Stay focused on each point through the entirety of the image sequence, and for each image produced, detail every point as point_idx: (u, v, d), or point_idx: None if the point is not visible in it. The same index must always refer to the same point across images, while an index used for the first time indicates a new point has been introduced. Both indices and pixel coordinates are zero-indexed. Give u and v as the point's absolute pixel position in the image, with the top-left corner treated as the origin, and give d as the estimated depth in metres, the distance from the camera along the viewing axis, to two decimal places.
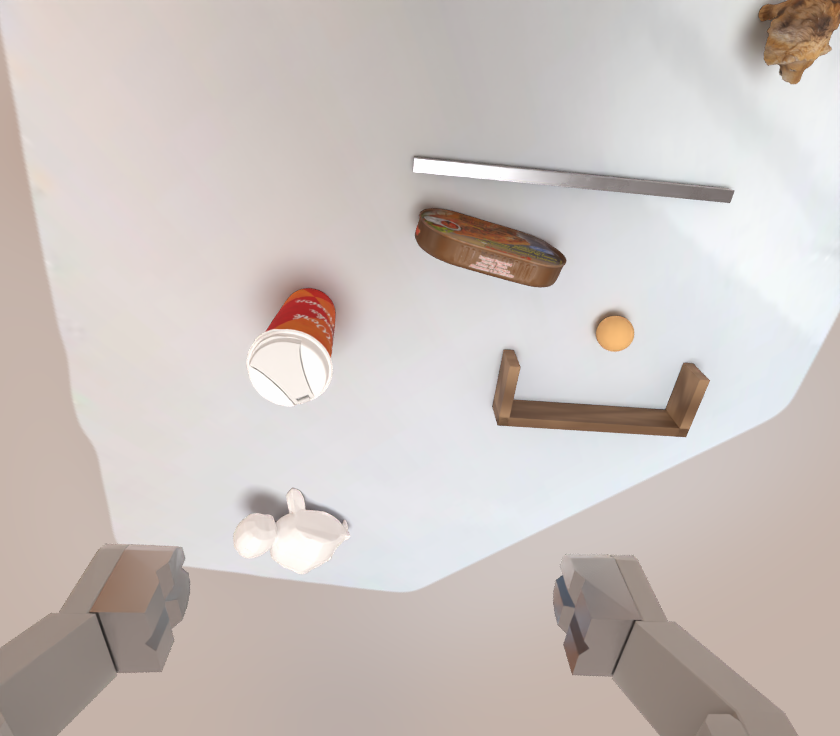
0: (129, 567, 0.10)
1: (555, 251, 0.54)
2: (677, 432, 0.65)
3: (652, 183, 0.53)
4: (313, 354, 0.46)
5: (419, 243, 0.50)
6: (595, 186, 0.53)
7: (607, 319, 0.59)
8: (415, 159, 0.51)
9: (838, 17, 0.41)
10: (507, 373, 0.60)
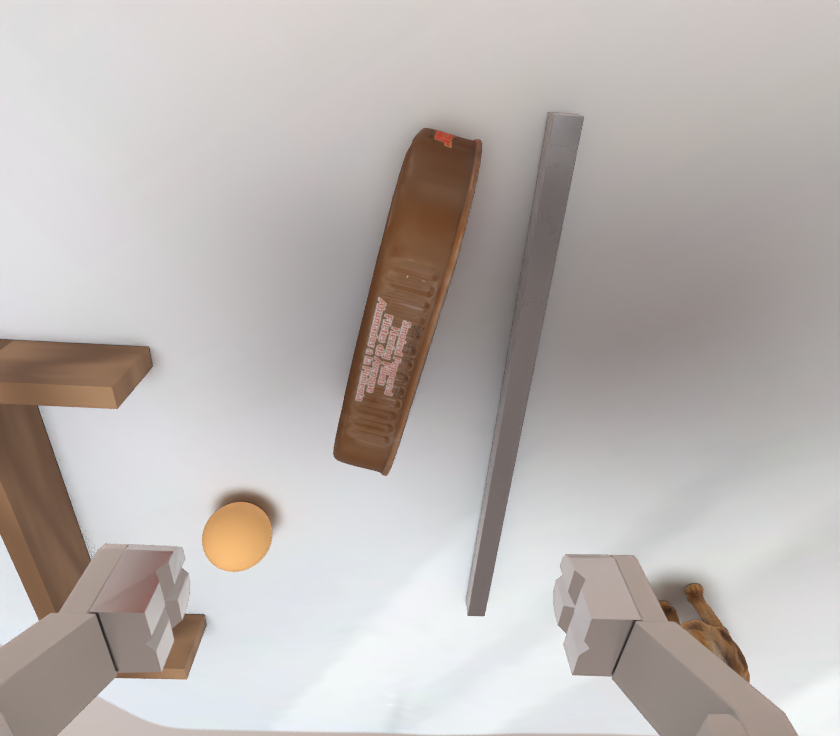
0: (129, 567, 0.10)
1: None
2: None
3: (500, 529, 0.33)
4: None
5: (418, 146, 0.18)
6: (499, 459, 0.31)
7: (262, 520, 0.32)
8: (581, 119, 0.22)
9: None
10: (90, 382, 0.25)
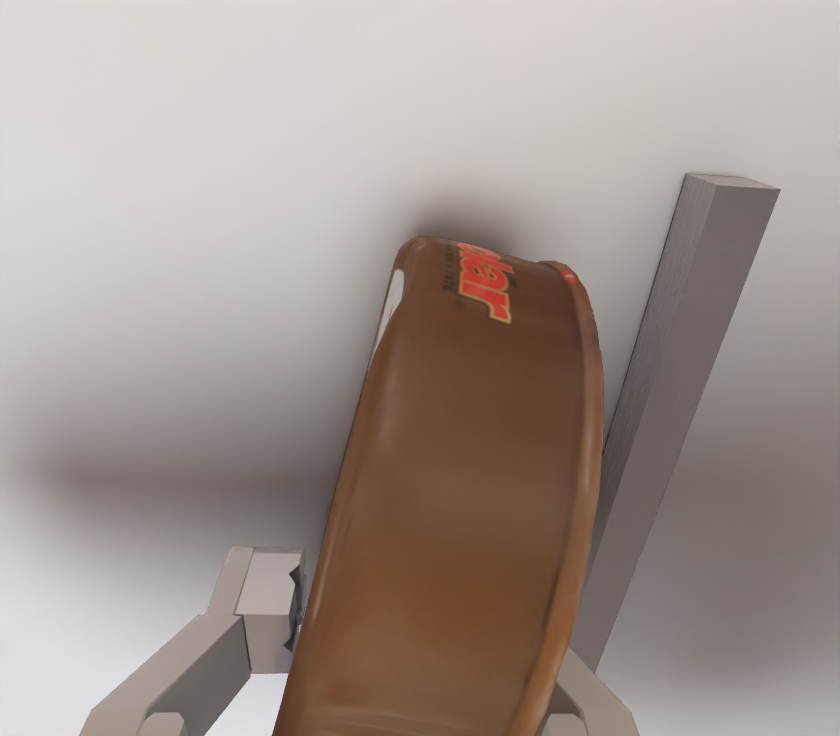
0: (262, 570, 0.10)
1: None
2: None
3: None
4: None
5: (413, 330, 0.06)
6: None
7: None
8: (773, 194, 0.10)
9: None
10: None
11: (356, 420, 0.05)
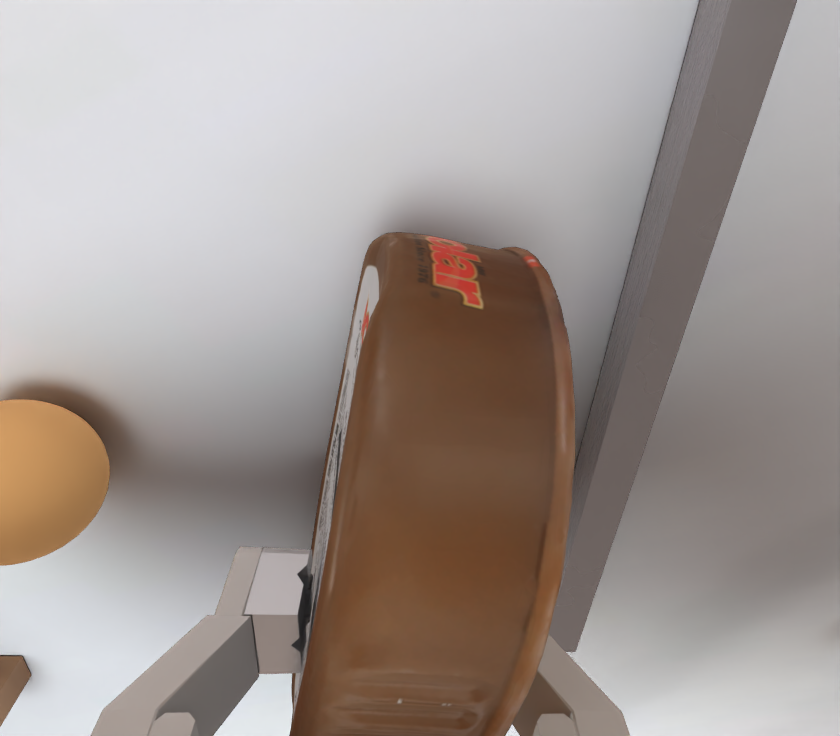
0: (271, 570, 0.10)
1: None
2: None
3: (635, 463, 0.15)
4: None
5: (395, 322, 0.06)
6: (665, 267, 0.12)
7: (72, 437, 0.13)
8: None
9: None
10: None
11: (352, 409, 0.06)
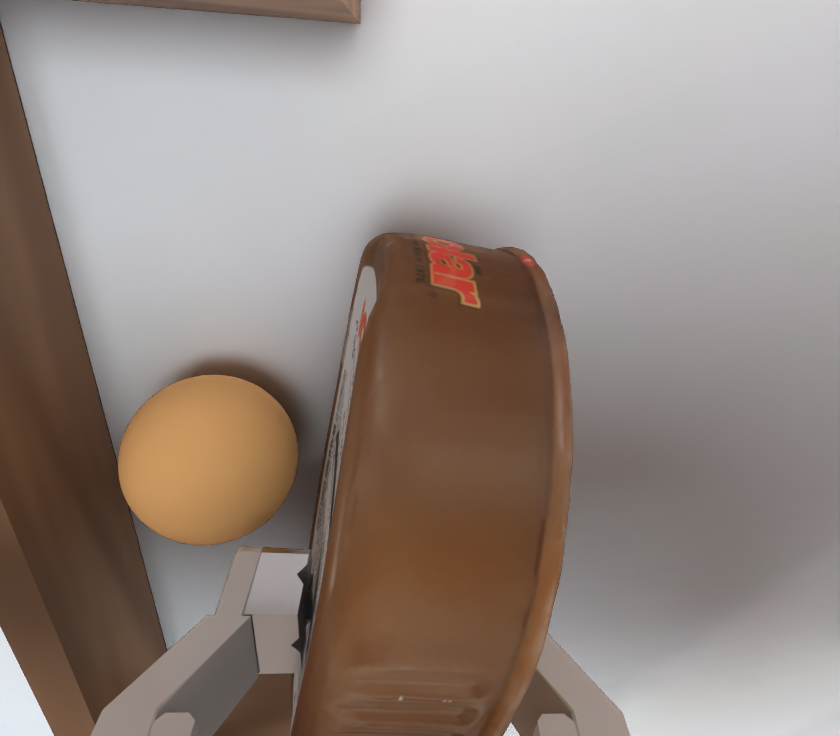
0: (270, 570, 0.10)
1: None
2: None
3: None
4: None
5: (394, 321, 0.06)
6: None
7: None
8: None
9: None
10: None
11: (351, 408, 0.06)
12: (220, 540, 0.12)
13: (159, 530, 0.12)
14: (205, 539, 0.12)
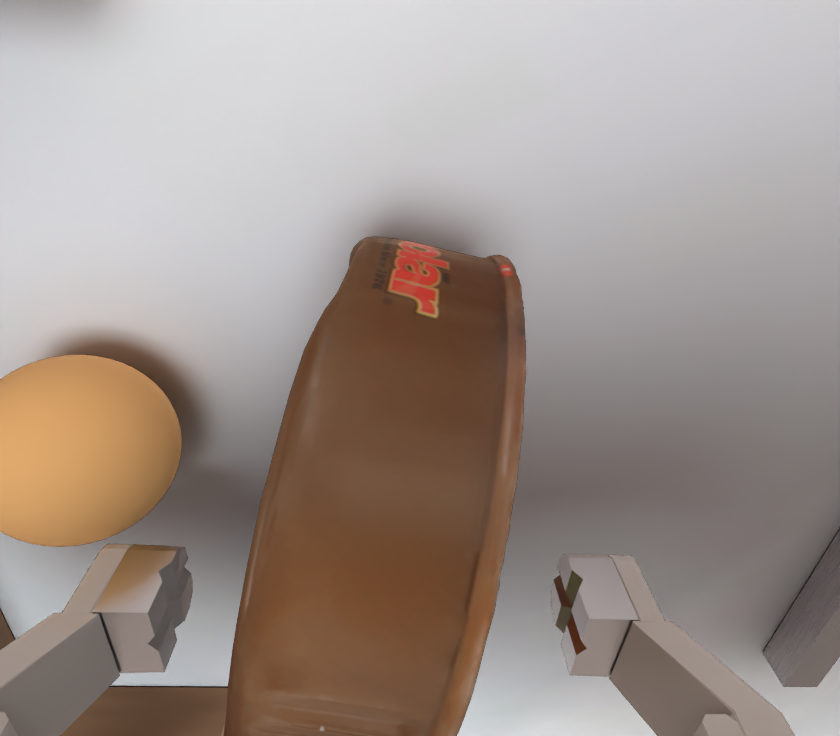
0: (132, 567, 0.10)
1: None
2: None
3: None
4: None
5: (339, 328, 0.06)
6: None
7: None
8: None
9: None
10: None
11: (283, 417, 0.06)
12: (152, 497, 0.11)
13: (89, 505, 0.10)
14: (142, 494, 0.11)
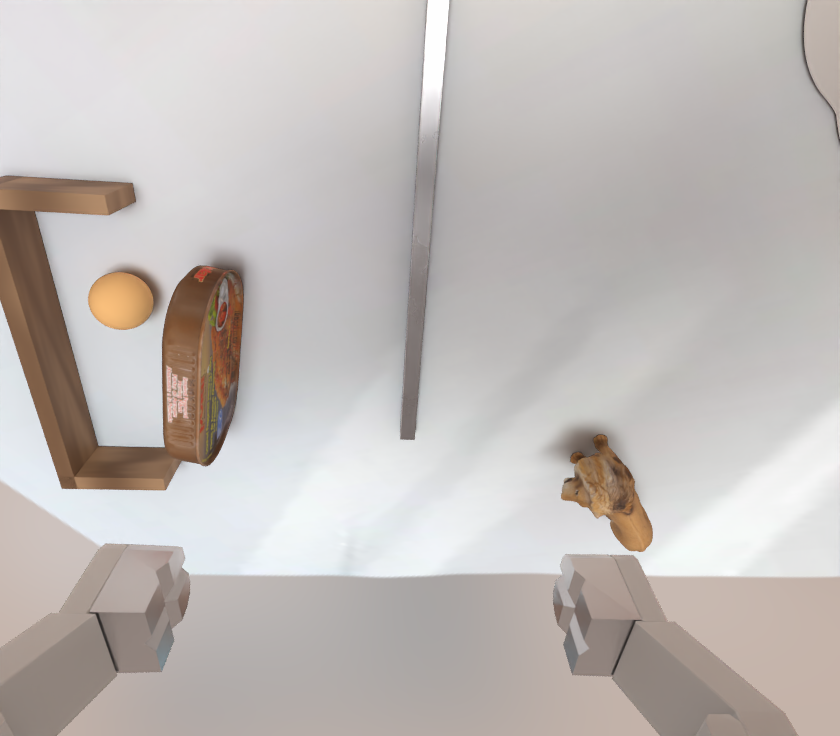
0: (129, 567, 0.10)
1: (222, 436, 0.43)
2: (65, 476, 0.42)
3: (420, 351, 0.42)
4: None
5: (182, 283, 0.33)
6: (414, 282, 0.39)
7: None
8: None
9: (620, 512, 0.42)
10: (87, 192, 0.32)
11: (171, 298, 0.33)
12: (143, 302, 0.37)
13: (130, 286, 0.36)
14: (142, 297, 0.37)
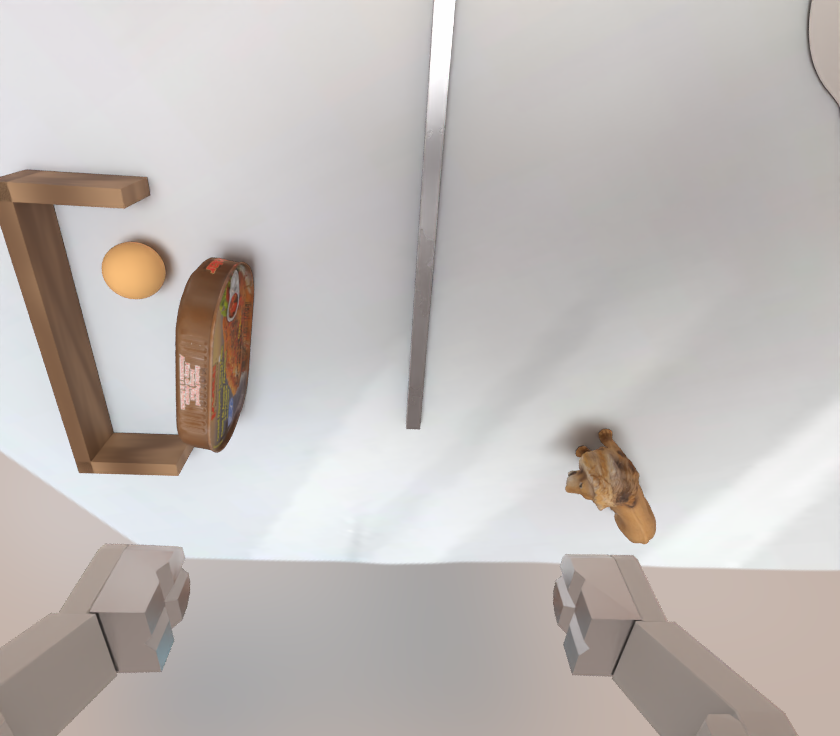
0: (129, 567, 0.10)
1: (233, 423, 0.44)
2: (82, 460, 0.44)
3: (425, 342, 0.42)
4: None
5: (194, 275, 0.34)
6: (420, 274, 0.40)
7: None
8: None
9: (623, 504, 0.43)
10: (104, 186, 0.34)
11: (184, 289, 0.34)
12: (158, 263, 0.38)
13: (150, 248, 0.38)
14: (158, 259, 0.38)
